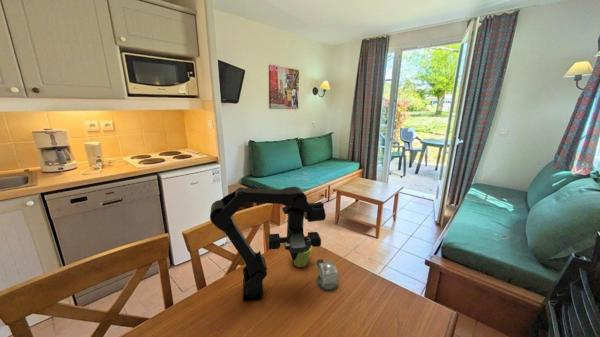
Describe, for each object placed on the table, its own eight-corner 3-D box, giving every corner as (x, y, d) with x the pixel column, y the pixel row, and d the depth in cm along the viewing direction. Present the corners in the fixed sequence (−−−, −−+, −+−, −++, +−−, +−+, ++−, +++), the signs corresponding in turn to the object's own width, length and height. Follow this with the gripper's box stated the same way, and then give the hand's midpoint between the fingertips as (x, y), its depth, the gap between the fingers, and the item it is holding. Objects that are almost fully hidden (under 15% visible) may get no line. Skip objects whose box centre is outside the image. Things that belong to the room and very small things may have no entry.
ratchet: (340, 290, 90) (341, 279, 89) (320, 292, 89) (321, 281, 87) (328, 261, 106) (328, 252, 104) (310, 263, 104) (311, 253, 103)
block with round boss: (322, 285, 90) (323, 270, 87) (318, 274, 95) (319, 260, 93) (337, 284, 91) (338, 268, 89) (332, 273, 96) (333, 258, 94)
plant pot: (299, 273, 98) (300, 255, 96) (285, 261, 105) (285, 245, 102) (315, 263, 104) (316, 246, 102) (301, 253, 111) (301, 237, 108)
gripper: (270, 236, 75) (269, 277, 79) (327, 233, 78) (323, 273, 82) (268, 219, 85) (267, 256, 90) (318, 217, 89) (315, 253, 93)
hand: (293, 259), depth 88 cm, fingers closed
